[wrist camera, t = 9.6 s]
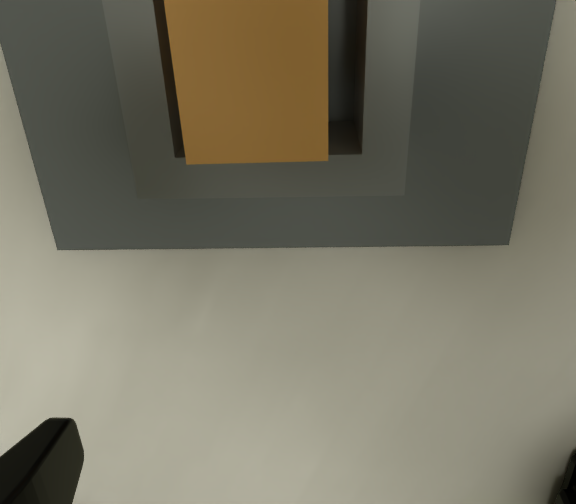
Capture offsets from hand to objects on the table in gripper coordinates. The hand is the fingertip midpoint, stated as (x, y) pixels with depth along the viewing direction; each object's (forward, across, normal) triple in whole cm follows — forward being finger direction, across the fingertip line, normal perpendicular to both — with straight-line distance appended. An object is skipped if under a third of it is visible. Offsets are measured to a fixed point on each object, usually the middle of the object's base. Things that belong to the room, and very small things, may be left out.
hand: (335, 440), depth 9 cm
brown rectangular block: (+10, +2, -6) cm, 12 cm away
